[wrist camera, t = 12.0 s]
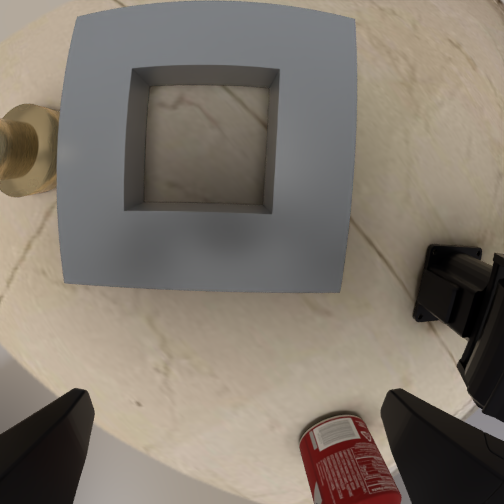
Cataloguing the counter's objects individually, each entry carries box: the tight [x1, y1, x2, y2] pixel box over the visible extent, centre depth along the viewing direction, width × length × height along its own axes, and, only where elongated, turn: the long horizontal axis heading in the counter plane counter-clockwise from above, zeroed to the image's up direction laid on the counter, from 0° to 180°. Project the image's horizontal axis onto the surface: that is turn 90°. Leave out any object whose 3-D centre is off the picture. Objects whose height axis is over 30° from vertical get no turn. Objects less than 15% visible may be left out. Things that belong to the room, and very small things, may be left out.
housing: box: [57, 1, 357, 293], centre depth 16 cm, size 16×16×4 cm
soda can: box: [299, 415, 401, 504], centre depth 20 cm, size 7×7×12 cm
